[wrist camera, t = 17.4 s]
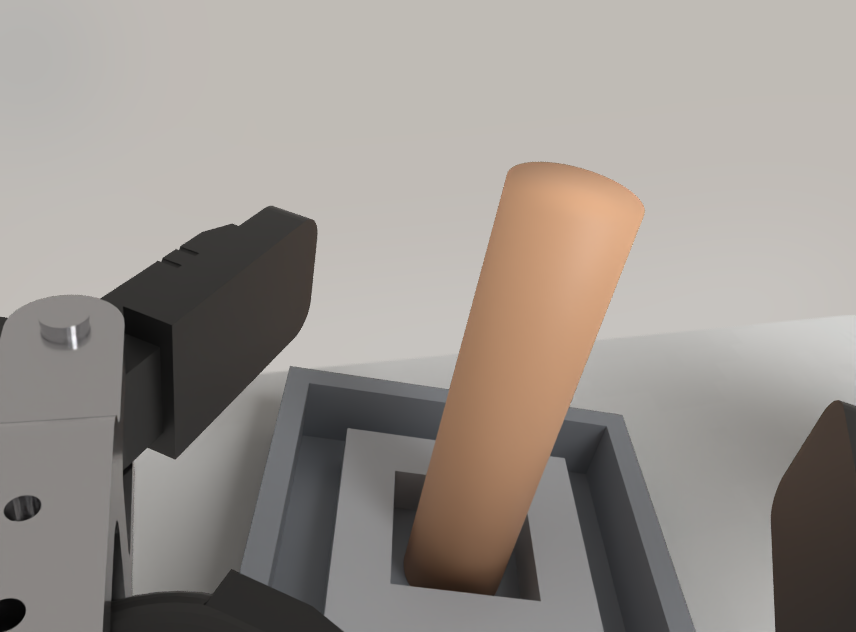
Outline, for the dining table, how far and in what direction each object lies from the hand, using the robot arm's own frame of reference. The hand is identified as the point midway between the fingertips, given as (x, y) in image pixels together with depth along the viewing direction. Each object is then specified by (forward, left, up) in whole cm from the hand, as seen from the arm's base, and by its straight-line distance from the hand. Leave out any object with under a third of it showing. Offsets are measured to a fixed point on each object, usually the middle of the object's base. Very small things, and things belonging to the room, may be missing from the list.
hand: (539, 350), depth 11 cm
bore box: (-3, -11, -19) cm, 22 cm away
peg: (-3, -10, -18) cm, 21 cm away
